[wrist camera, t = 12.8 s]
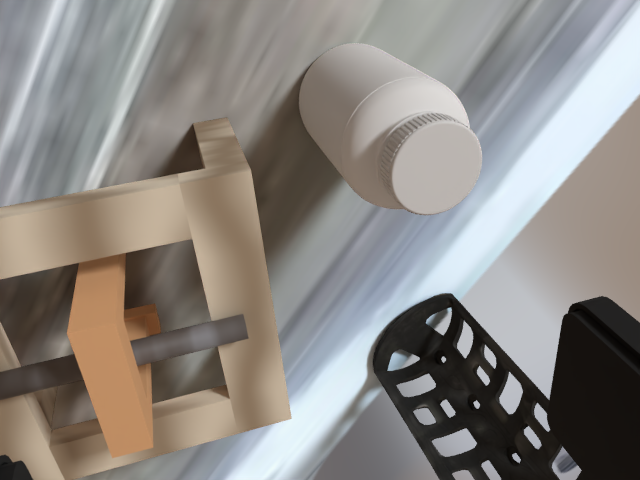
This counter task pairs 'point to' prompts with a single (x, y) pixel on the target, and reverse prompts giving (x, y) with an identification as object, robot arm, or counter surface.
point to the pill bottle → (390, 130)
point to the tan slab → (113, 353)
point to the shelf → (223, 284)
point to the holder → (465, 396)
